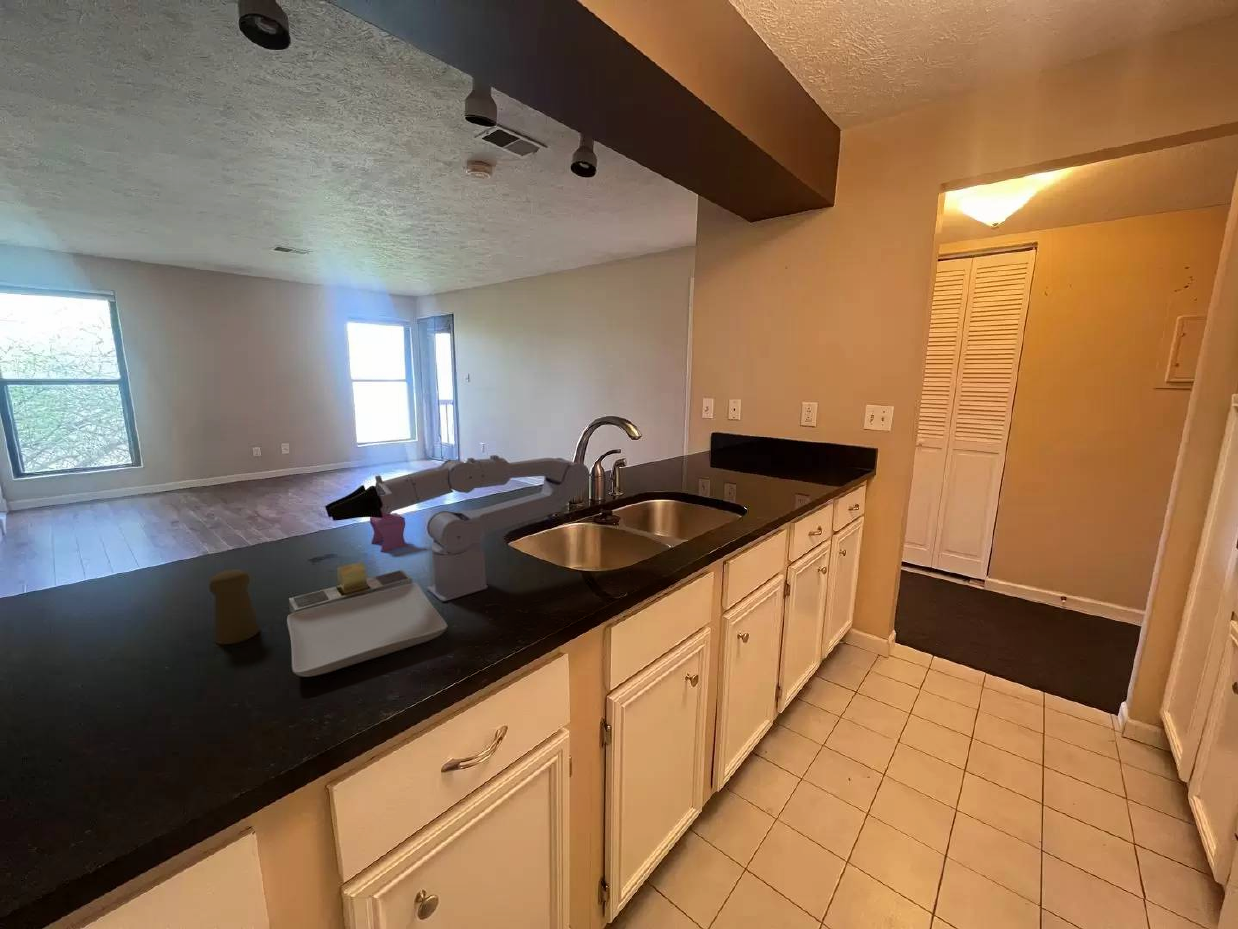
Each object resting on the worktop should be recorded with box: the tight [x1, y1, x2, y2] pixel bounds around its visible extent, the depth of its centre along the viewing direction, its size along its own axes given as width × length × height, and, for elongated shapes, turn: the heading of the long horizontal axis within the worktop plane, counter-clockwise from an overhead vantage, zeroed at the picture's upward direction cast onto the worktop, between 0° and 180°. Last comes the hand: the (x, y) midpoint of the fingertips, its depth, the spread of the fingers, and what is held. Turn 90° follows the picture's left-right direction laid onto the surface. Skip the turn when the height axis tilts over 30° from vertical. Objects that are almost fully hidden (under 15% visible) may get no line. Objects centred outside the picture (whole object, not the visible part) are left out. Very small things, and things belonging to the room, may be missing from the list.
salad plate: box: [286, 582, 448, 678], centre depth 80 cm, size 21×21×3 cm
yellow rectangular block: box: [336, 562, 368, 596], centre depth 93 cm, size 4×4×6 cm
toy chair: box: [369, 508, 408, 553], centre depth 123 cm, size 8×9×15 cm
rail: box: [288, 569, 413, 614], centre depth 93 cm, size 20×6×2 cm, turn 132°
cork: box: [208, 569, 261, 645], centre depth 80 cm, size 6×6×11 cm
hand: (328, 513), depth 82 cm, fingers open, 7 cm apart
